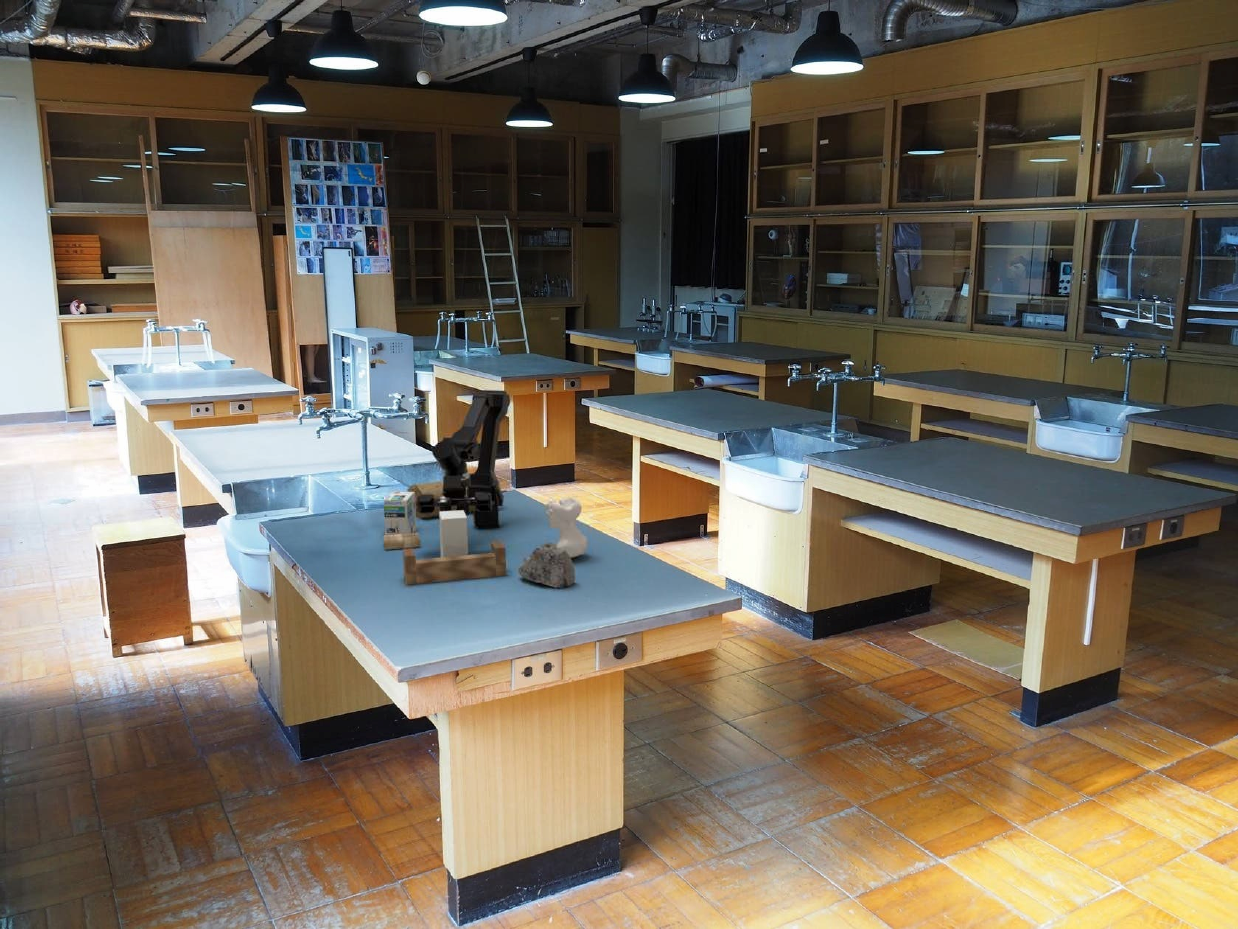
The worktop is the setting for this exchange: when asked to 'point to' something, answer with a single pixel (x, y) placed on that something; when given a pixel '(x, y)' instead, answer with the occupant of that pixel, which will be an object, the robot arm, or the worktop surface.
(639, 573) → the worktop surface
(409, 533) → the roller
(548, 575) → the mineral rock
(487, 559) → the stop rail
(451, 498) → the robot arm
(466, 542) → the small box
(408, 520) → the light bulb box
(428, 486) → the core sample
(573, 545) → the white bust sculpture
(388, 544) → the roller
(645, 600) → the worktop surface
